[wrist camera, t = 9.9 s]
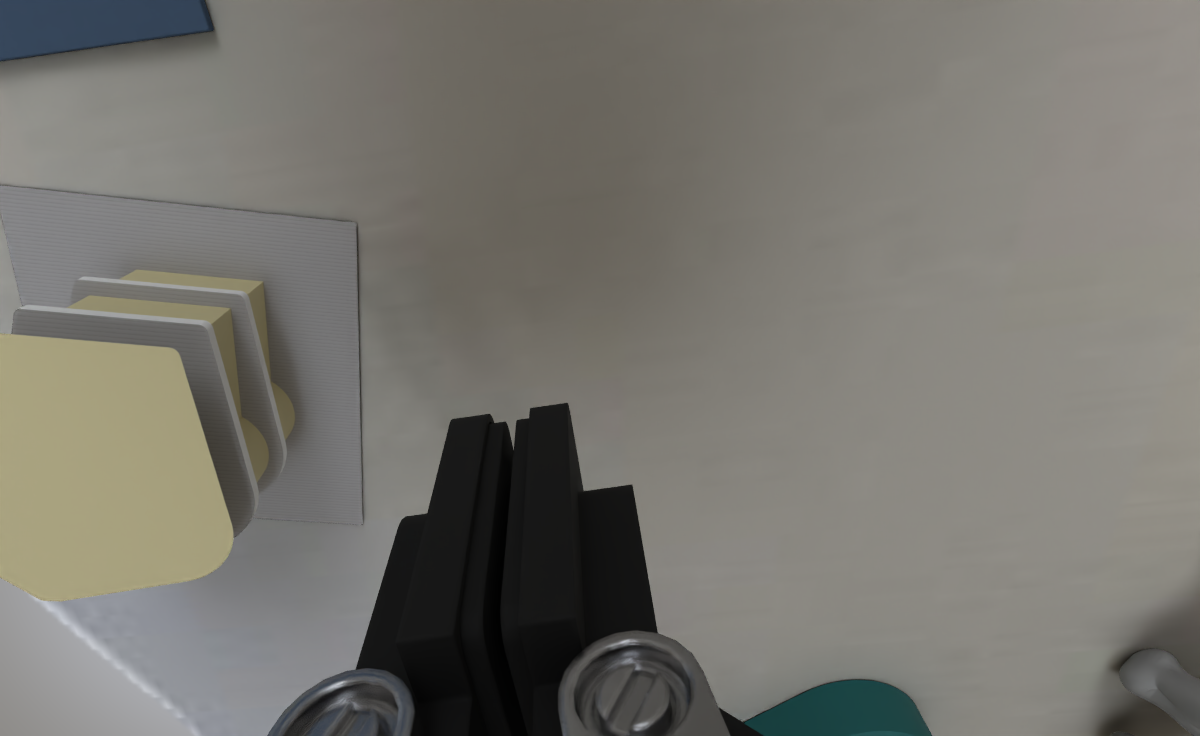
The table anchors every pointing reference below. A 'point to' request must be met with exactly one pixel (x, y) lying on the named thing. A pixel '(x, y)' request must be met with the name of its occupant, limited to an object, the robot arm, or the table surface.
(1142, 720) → the table surface
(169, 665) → the table surface
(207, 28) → the cloth
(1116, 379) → the table surface
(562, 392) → the table surface
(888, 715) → the bracket
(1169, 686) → the gray elephant figurine
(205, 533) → the stacked layers on plate
